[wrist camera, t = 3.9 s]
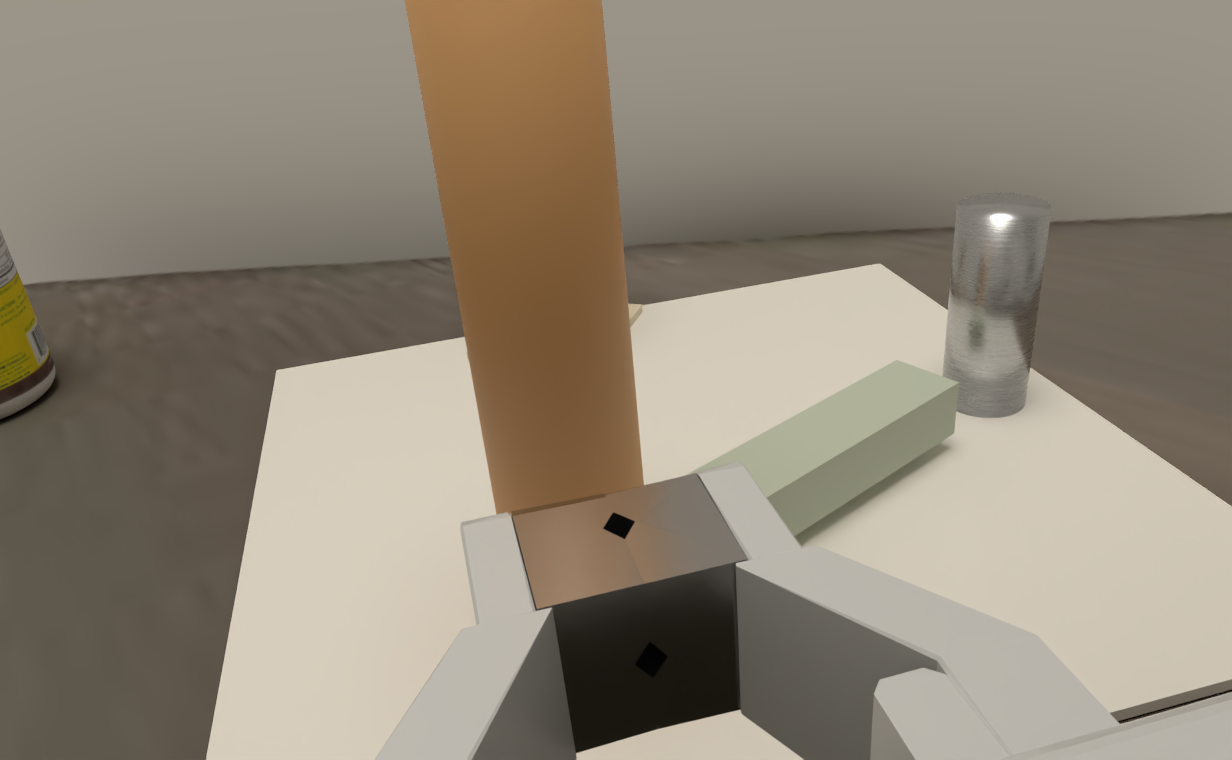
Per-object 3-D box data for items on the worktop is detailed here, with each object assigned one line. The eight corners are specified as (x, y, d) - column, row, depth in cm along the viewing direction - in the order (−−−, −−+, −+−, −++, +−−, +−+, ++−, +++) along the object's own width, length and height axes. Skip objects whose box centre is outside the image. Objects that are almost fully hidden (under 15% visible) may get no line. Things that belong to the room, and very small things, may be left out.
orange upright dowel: (879, 403, 28) (922, -431, 19) (970, 439, 26) (1066, -482, 17) (492, 625, 21) (267, -534, 12) (572, 702, 19) (372, -642, 10)
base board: (879, 270, 39) (879, 263, 39) (1405, 640, 19) (1410, 629, 19) (278, 377, 35) (276, 370, 35) (172, 985, 15) (166, 973, 15)
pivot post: (995, 373, 30) (1016, 188, 27) (1042, 408, 28) (1071, 212, 25) (925, 387, 29) (939, 201, 27) (968, 424, 27) (988, 226, 25)
